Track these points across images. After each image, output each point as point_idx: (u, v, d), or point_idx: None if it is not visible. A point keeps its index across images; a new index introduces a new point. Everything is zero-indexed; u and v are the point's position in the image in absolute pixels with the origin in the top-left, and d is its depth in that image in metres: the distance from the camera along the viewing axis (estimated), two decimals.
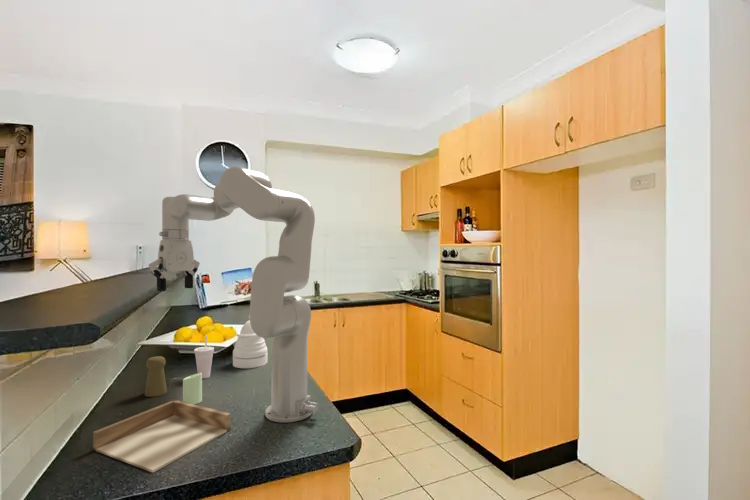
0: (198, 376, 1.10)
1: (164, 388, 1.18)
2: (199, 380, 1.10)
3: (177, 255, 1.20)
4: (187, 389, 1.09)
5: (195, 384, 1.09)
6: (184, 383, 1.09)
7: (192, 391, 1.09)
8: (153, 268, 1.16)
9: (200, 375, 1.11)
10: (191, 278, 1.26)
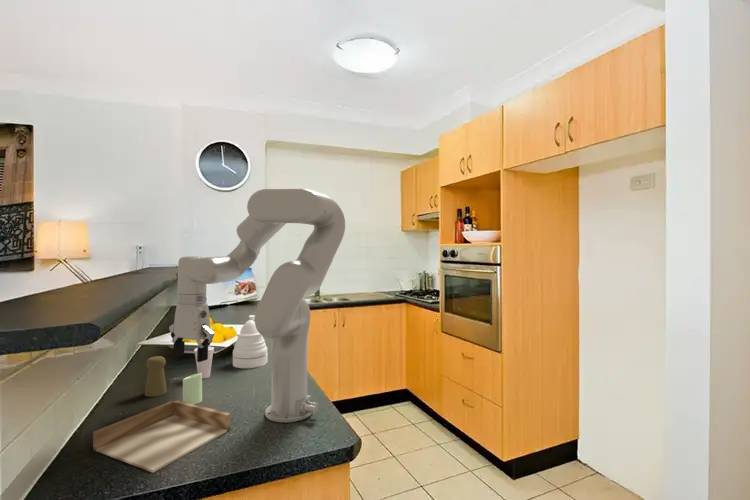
0: (198, 376, 1.10)
1: (164, 388, 1.18)
2: (199, 380, 1.10)
3: None
4: (187, 389, 1.09)
5: (195, 384, 1.09)
6: (184, 383, 1.09)
7: (192, 391, 1.09)
8: None
9: (200, 375, 1.11)
10: (184, 343, 1.15)
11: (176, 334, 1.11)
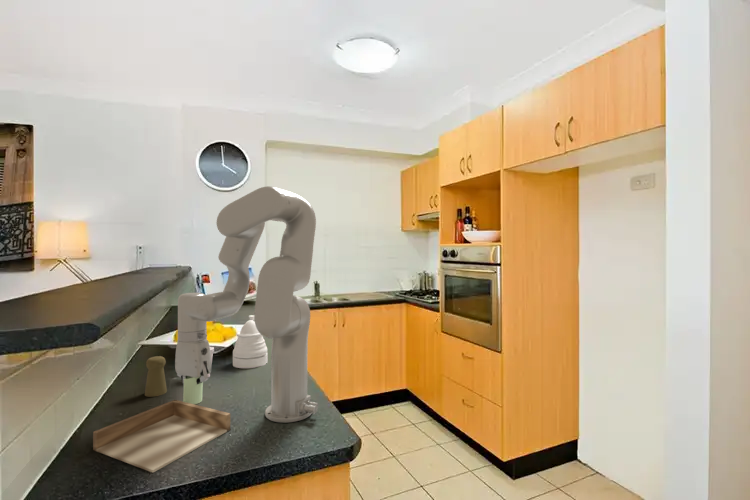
0: None
1: (164, 388, 1.18)
2: None
3: None
4: (187, 389, 1.09)
5: (195, 384, 1.09)
6: (185, 383, 1.09)
7: (193, 391, 1.09)
8: None
9: None
10: None
11: (177, 371, 1.11)
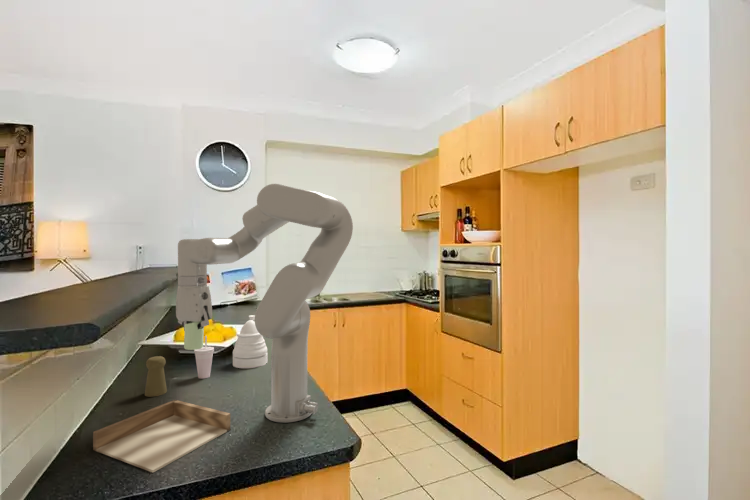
0: (200, 322, 1.10)
1: (164, 388, 1.18)
2: None
3: None
4: (188, 333, 1.08)
5: (196, 329, 1.09)
6: (186, 328, 1.09)
7: (194, 336, 1.09)
8: None
9: None
10: None
11: (178, 317, 1.11)
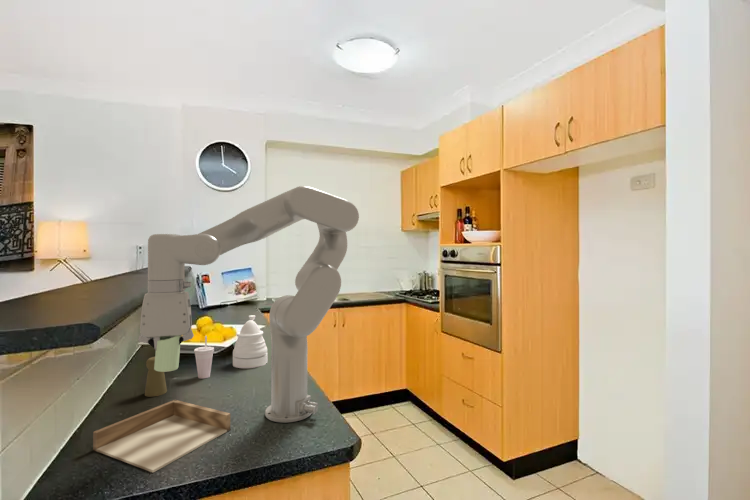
0: None
1: (164, 388, 1.18)
2: None
3: None
4: (169, 351, 0.87)
5: (178, 345, 0.89)
6: (164, 345, 0.87)
7: (175, 353, 0.89)
8: None
9: None
10: None
11: (147, 334, 0.86)
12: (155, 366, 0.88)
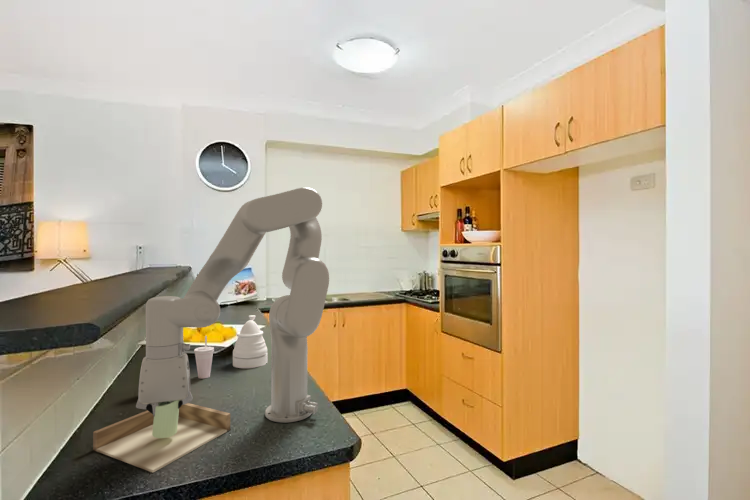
0: None
1: None
2: None
3: None
4: (168, 417, 0.86)
5: (177, 409, 0.88)
6: (163, 411, 0.86)
7: (174, 418, 0.87)
8: None
9: None
10: None
11: (145, 400, 0.85)
12: (153, 432, 0.86)
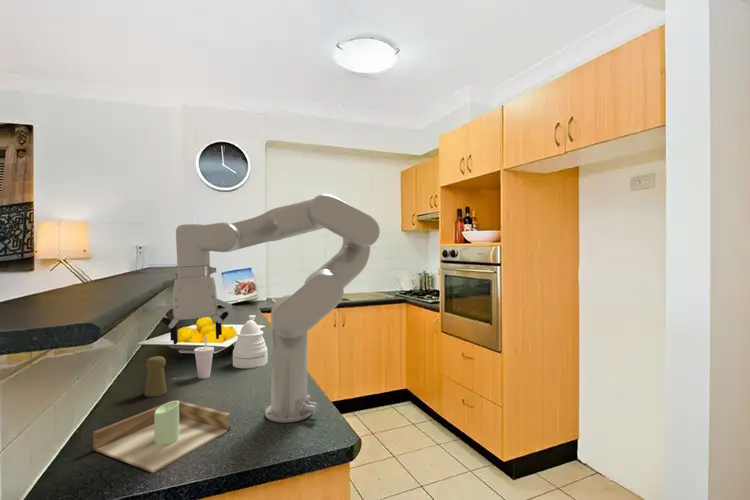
0: (178, 404, 0.89)
1: (164, 388, 1.18)
2: None
3: None
4: (168, 423, 0.86)
5: (177, 415, 0.88)
6: (163, 418, 0.86)
7: (174, 424, 0.87)
8: None
9: (178, 403, 0.90)
10: None
11: (179, 316, 0.94)
12: (155, 440, 0.86)
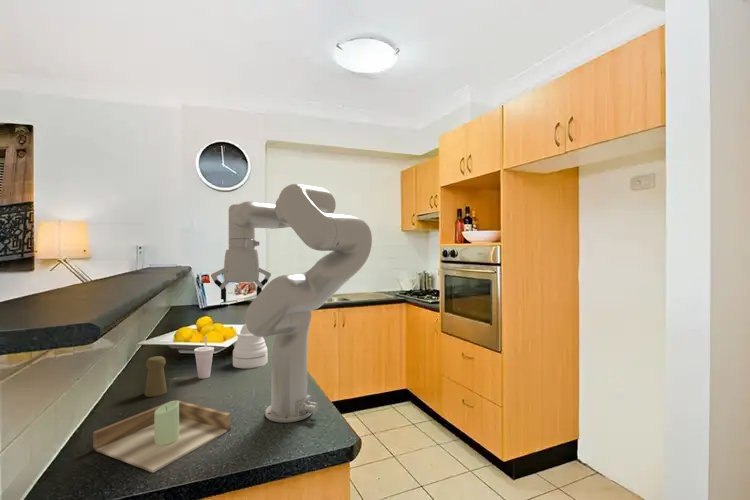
0: (178, 404, 0.89)
1: (164, 388, 1.18)
2: None
3: None
4: (168, 423, 0.86)
5: (177, 415, 0.88)
6: (163, 418, 0.86)
7: (174, 424, 0.87)
8: None
9: (178, 403, 0.90)
10: None
11: (229, 279, 1.15)
12: (155, 440, 0.86)
